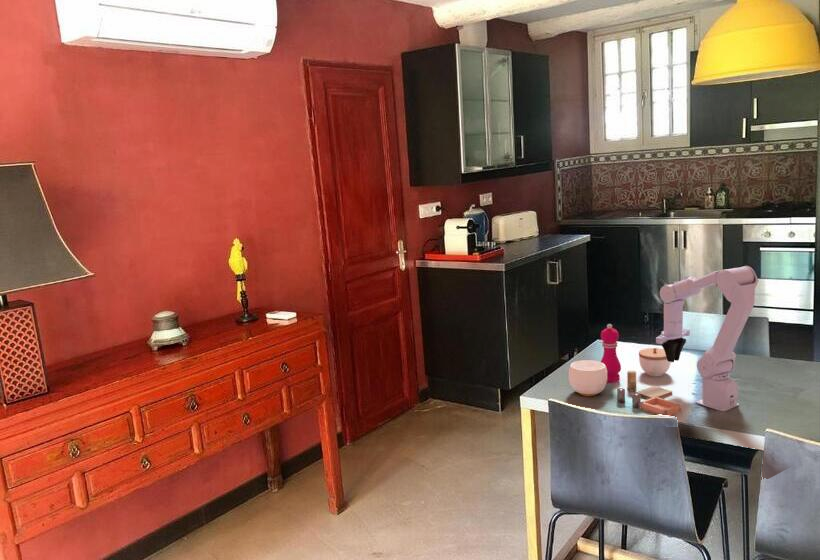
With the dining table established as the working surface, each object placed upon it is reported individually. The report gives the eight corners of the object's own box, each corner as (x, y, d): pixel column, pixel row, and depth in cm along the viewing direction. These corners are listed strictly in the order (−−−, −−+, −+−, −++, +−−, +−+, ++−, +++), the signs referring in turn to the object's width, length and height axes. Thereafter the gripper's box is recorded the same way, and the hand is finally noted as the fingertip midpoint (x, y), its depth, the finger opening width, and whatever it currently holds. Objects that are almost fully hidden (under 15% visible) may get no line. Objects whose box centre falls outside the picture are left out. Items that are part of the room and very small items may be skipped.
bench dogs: (642, 406, 209) (642, 394, 208) (637, 408, 208) (636, 396, 207) (620, 399, 216) (620, 387, 215) (615, 401, 215) (615, 389, 214)
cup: (579, 402, 216) (578, 373, 214) (563, 389, 228) (562, 362, 226) (614, 396, 218) (614, 368, 217) (596, 384, 230) (596, 357, 229)
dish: (681, 411, 203) (681, 404, 203) (665, 417, 200) (665, 410, 199) (655, 403, 211) (655, 396, 211) (640, 408, 207) (640, 402, 207)
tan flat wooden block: (672, 396, 217) (672, 391, 217) (653, 402, 213) (653, 398, 212) (654, 390, 223) (654, 385, 223) (635, 396, 219) (635, 392, 218)
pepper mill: (604, 375, 239) (603, 320, 236) (624, 378, 235) (623, 322, 231) (596, 381, 234) (595, 325, 230) (616, 384, 229) (615, 327, 226)
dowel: (638, 389, 224) (638, 372, 223) (632, 391, 222) (632, 374, 221) (631, 387, 226) (631, 370, 225) (625, 389, 225) (625, 372, 223)
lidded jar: (653, 380, 231) (653, 354, 229) (632, 372, 240) (632, 346, 239) (678, 374, 235) (678, 349, 233) (656, 366, 244) (656, 341, 243)
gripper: (676, 314, 226) (676, 353, 228) (648, 322, 218) (648, 362, 221) (695, 317, 220) (695, 357, 222) (666, 326, 212) (666, 367, 215)
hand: (673, 360), depth 221 cm, fingers closed
